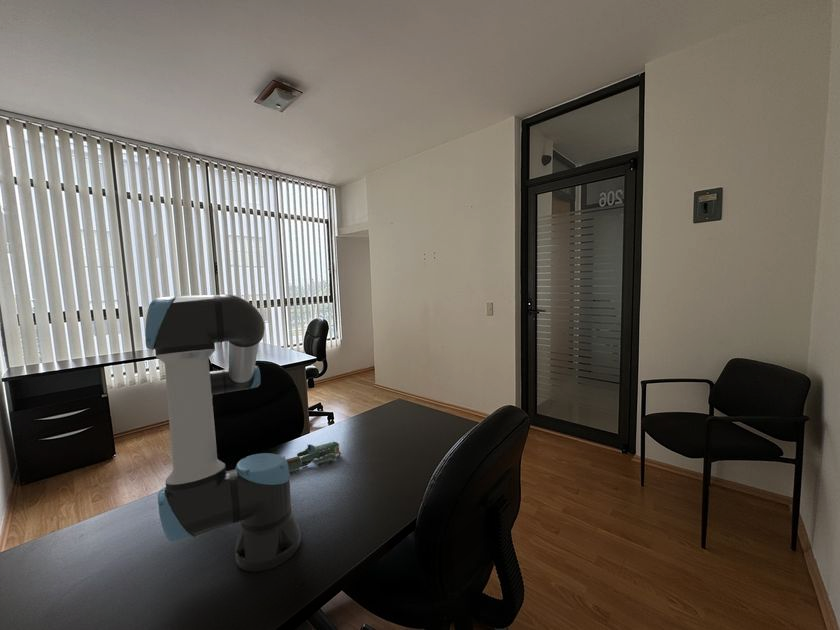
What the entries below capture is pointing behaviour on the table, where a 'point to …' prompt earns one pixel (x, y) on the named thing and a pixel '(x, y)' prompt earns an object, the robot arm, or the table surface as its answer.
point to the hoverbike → (314, 456)
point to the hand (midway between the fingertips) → (205, 470)
